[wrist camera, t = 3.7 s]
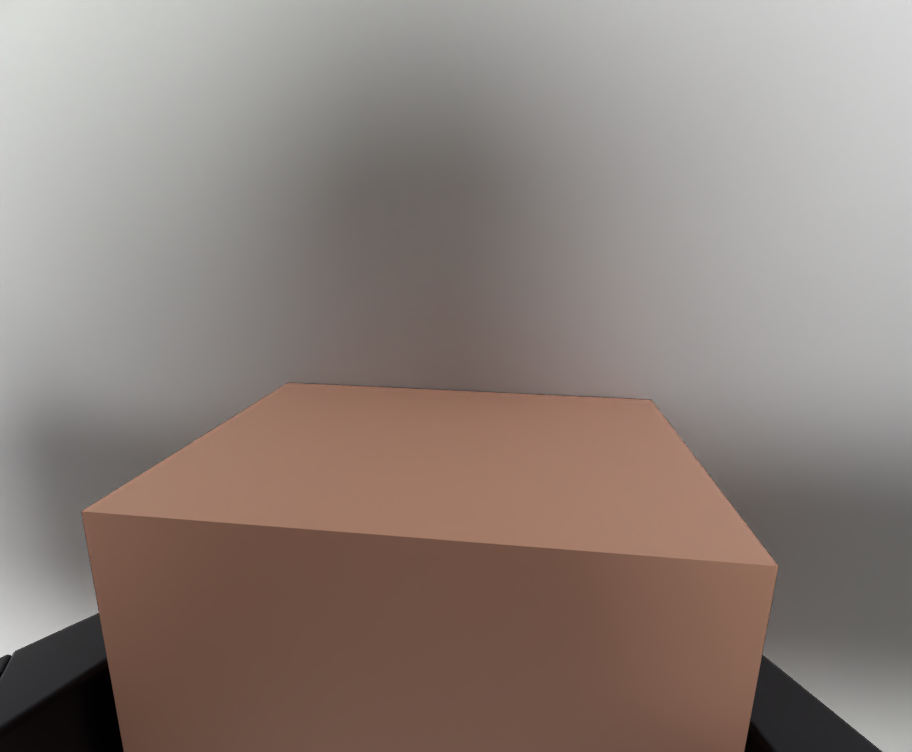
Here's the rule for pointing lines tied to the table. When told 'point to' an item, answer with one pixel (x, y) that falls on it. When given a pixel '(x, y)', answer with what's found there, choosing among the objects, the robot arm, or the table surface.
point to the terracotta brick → (430, 581)
